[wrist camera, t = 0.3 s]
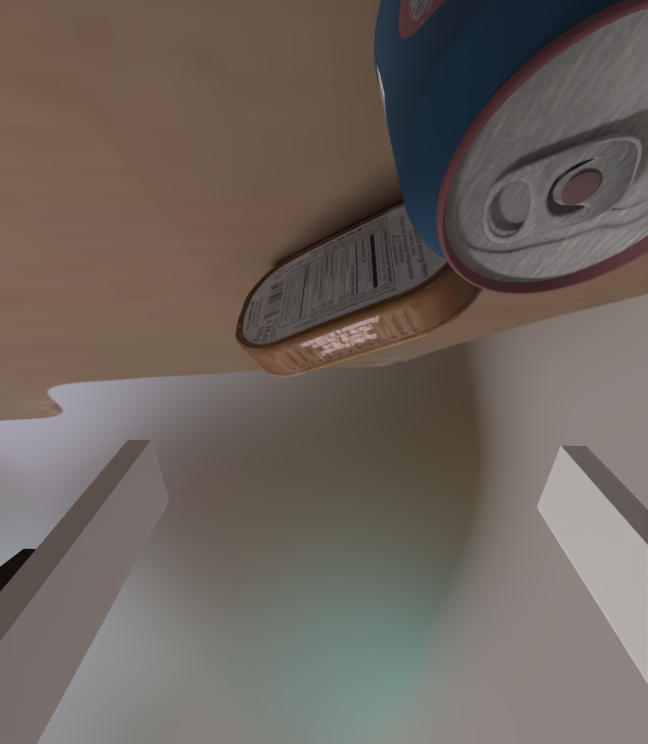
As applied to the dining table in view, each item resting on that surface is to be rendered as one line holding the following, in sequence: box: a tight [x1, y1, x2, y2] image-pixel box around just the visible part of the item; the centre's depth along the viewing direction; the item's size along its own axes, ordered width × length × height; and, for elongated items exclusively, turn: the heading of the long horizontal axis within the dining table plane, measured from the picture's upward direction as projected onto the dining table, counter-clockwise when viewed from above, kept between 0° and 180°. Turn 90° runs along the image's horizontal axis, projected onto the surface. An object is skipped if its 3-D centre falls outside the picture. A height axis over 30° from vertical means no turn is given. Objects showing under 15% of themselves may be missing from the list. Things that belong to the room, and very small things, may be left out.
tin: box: [235, 202, 482, 377], centre depth 20 cm, size 15×3×8 cm, turn 120°
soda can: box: [374, 0, 648, 294], centre depth 10 cm, size 7×7×12 cm
